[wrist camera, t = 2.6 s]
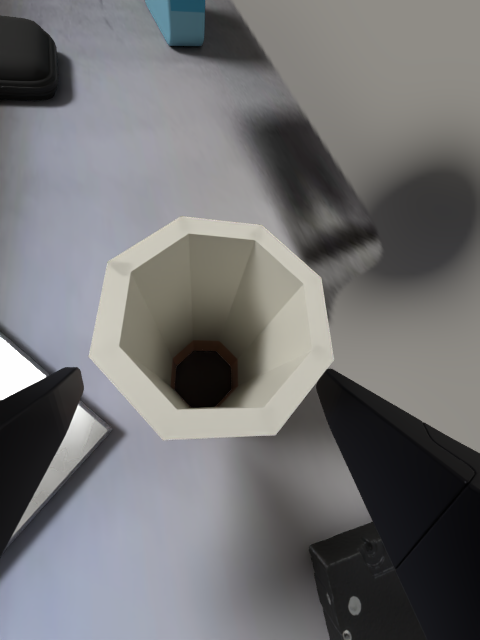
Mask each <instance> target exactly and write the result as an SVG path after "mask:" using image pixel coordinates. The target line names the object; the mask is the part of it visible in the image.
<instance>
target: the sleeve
mask: <svg viewBox="0 0 480 640" xmlns="http://www.w3.org/2000/svg"><path fill="white" fill-rule="evenodd" d="M321 279H322V278H321V277H320V276H318V275H317V274H316V273H315V272H314V271H313V270H312V269H311V268H309V267H308V266H307V265H306V264H305V263H304V262H303V261H302V260H300V259H299V258H298V257H297V256H296V255H295V254H294V253H293V252H292V251H290V250H289V249H288V248H287V247H286V246H285V245H284V244H283V243H281V242H280V241H279V240H278V239H277V238H276V237H275V236H274V235H272V234H271V233H270V232H269V231H268V230H267V229H266V228H265V227H264V226H263V225H256V224H247V223H238V222H229V221H220V220H211V219H202V218H193V217H184V216H181V217H179V218H178V219H176V220H174V221H173V222H171V223H170V224H168V225H166V226H165V227H163V228H161V229H160V230H158V231H157V232H155V233H153V234H152V235H150V236H149V237H147V238H145V239H144V240H142V241H141V242H139V243H137V244H136V245H134V246H132V247H131V248H129V249H128V250H126V251H124V252H123V253H121V254H120V255H118V256H116V257H115V258H113V259H111V260H110V261H108V262H107V268H106V273H105V278H104V283H103V288H102V293H101V298H100V303H99V308H98V313H97V318H96V323H95V328H94V333H93V338H92V343H91V348H90V353H89V358H90V359H91V360H92V361H93V362H94V363H95V364H96V365H97V366H98V368H99V369H100V370H101V371H102V372H103V373H104V374H105V375H106V377H107V378H108V379H109V380H110V381H111V382H112V383H113V384H114V386H115V387H116V388H117V389H118V390H119V391H120V392H121V393H122V395H123V396H124V397H125V398H126V399H127V400H128V401H129V402H130V404H131V405H132V406H133V407H134V408H135V409H136V410H137V411H138V413H139V414H140V415H141V416H142V417H143V418H144V419H145V420H146V422H147V423H148V424H149V425H150V426H151V427H152V428H153V429H154V431H155V432H156V433H157V434H158V435H159V436H160V437H161V438H162V440H163V441H164V440H177V439H200V438H223V437H246V436H268V435H274V436H275V435H276V434H277V433H278V431H279V430H280V429H281V428H282V426H283V425H284V424H285V422H286V421H287V420H288V418H289V417H290V416H291V415H292V413H293V412H294V411H295V409H296V408H297V407H298V406H299V404H300V403H301V402H302V400H303V399H304V398H305V397H306V395H307V394H308V393H309V391H310V390H311V389H312V387H313V386H314V385H315V384H316V382H317V381H318V380H319V378H320V377H321V376H322V375H323V373H324V372H325V371H326V369H327V368H328V367H329V365H330V364H331V363H332V362H333V361H334V357H333V350H332V344H331V338H330V331H329V325H328V318H327V312H326V306H325V299H324V293H323V286H322V280H321ZM193 351H216V352H217V353H218V354H219V355H220V356H221V357H222V358H223V359H224V360H225V361H226V362H227V363H228V364H229V365H230V366H231V390H230V391H229V392H228V393H227V395H226V396H225V397H224V398H223V399H222V400H221V401H220V402H219V403H218V404H217V405H216V406H215V407H190V406H189V405H188V404H187V403H186V402H185V401H184V399H183V398H182V397H181V396H180V395H179V394H178V393H177V392H176V391H175V380H176V366H177V365H178V364H179V363H181V362H182V361H183V360H184V359H185V358H186V357H187V356H188V355H189V354H191V353H192V352H193Z"/></svg>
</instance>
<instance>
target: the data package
mask: <svg viewBox="0 0 480 640" xmlns="http://www.w3.org/2000/svg"><path fill="white" fill-rule="evenodd" d="M145 2H146V5H147V7H148V9H149V10H150V12H151V14H152V16H153V18H154V20H155V21H156V23H157V25H158V27H159V29H160V31H161V32H162V34H163V36H164V38H165V40H166V42H167V43H168V45H169V46H201V45H202V44H203V41H204V29H205V0H145Z"/></svg>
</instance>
